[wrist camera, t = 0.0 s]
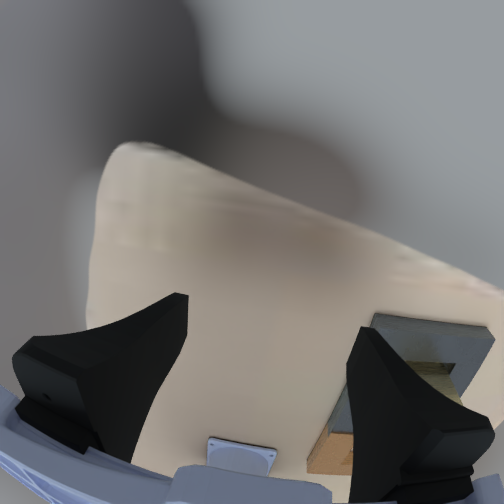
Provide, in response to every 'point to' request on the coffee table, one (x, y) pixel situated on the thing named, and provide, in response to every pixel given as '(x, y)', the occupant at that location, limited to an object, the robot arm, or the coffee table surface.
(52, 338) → the robot arm
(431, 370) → the brass peg
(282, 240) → the coffee table surface
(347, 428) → the peg hole board
